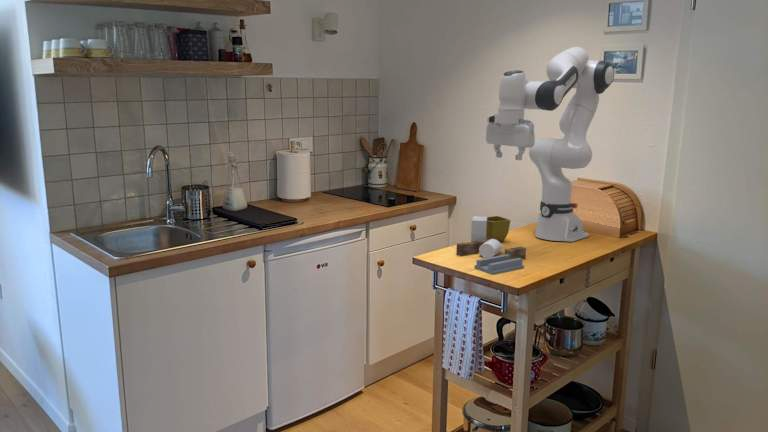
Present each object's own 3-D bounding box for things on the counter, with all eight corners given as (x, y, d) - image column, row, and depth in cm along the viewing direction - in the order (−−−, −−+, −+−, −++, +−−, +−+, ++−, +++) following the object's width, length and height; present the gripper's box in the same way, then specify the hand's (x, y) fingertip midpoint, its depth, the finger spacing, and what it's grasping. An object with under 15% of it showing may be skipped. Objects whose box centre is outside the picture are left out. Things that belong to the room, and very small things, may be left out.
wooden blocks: (491, 248, 228) (491, 238, 227) (525, 259, 214) (526, 247, 213) (456, 254, 218) (456, 243, 217) (490, 266, 204) (490, 254, 204)
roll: (505, 252, 223) (506, 237, 222) (494, 259, 213) (495, 244, 212) (489, 249, 226) (490, 235, 225) (478, 257, 216) (478, 241, 215)
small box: (485, 248, 227) (486, 221, 225) (470, 247, 228) (471, 220, 226) (486, 243, 235) (487, 216, 233) (471, 242, 236) (472, 215, 234)
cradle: (505, 262, 210) (505, 253, 209) (523, 268, 203) (524, 259, 202) (474, 268, 202) (475, 259, 201) (492, 274, 195) (493, 265, 194)
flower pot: (490, 244, 233) (491, 221, 231) (478, 239, 241) (479, 217, 239) (509, 242, 237) (511, 220, 235) (497, 237, 244) (498, 215, 243)
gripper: (540, 120, 205) (537, 161, 208) (496, 117, 221) (494, 155, 224) (527, 120, 201) (524, 162, 204) (483, 117, 218) (481, 156, 221)
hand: (508, 158), depth 214 cm, fingers open, 8 cm apart
